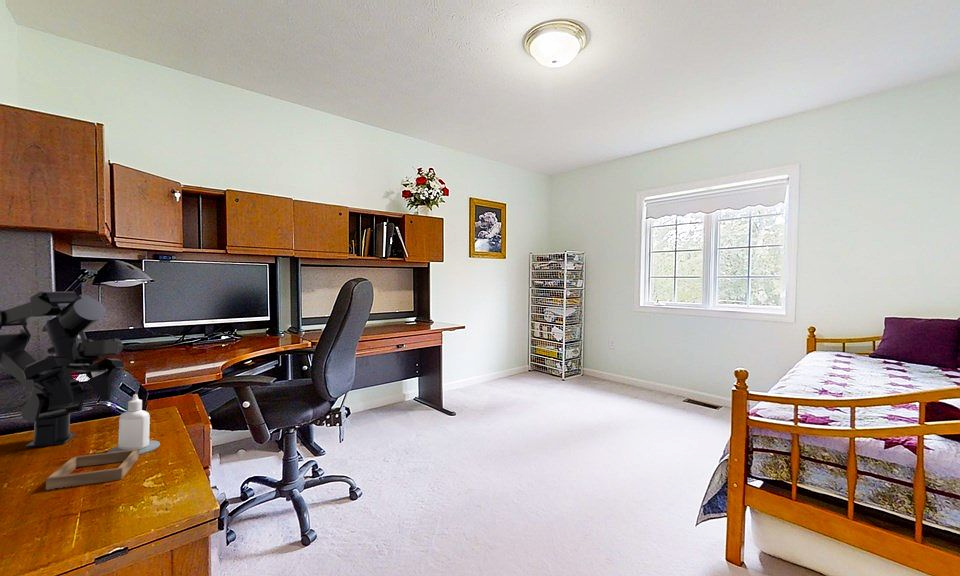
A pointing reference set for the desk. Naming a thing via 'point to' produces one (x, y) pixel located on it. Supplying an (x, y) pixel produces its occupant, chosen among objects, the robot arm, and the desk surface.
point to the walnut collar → (67, 480)
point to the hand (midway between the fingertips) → (89, 402)
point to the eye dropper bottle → (134, 426)
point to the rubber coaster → (149, 448)
